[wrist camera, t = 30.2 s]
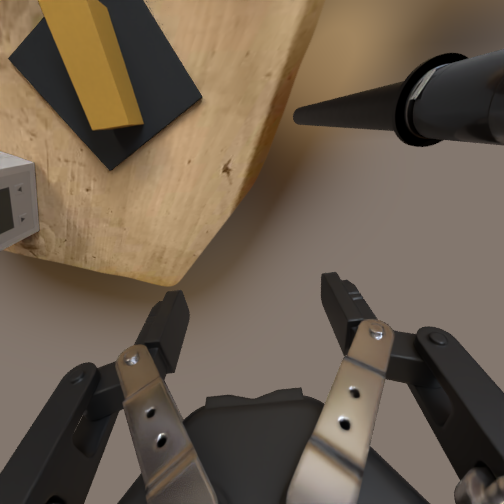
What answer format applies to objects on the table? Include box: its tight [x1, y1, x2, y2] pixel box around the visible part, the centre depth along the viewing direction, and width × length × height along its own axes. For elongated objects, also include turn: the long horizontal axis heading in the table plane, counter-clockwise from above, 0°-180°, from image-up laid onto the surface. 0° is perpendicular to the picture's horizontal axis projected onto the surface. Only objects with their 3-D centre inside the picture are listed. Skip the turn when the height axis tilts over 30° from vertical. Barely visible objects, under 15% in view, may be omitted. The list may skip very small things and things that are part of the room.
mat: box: [8, 0, 202, 171], centre depth 30 cm, size 18×16×1 cm
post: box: [38, 0, 144, 130], centre depth 28 cm, size 5×5×12 cm
